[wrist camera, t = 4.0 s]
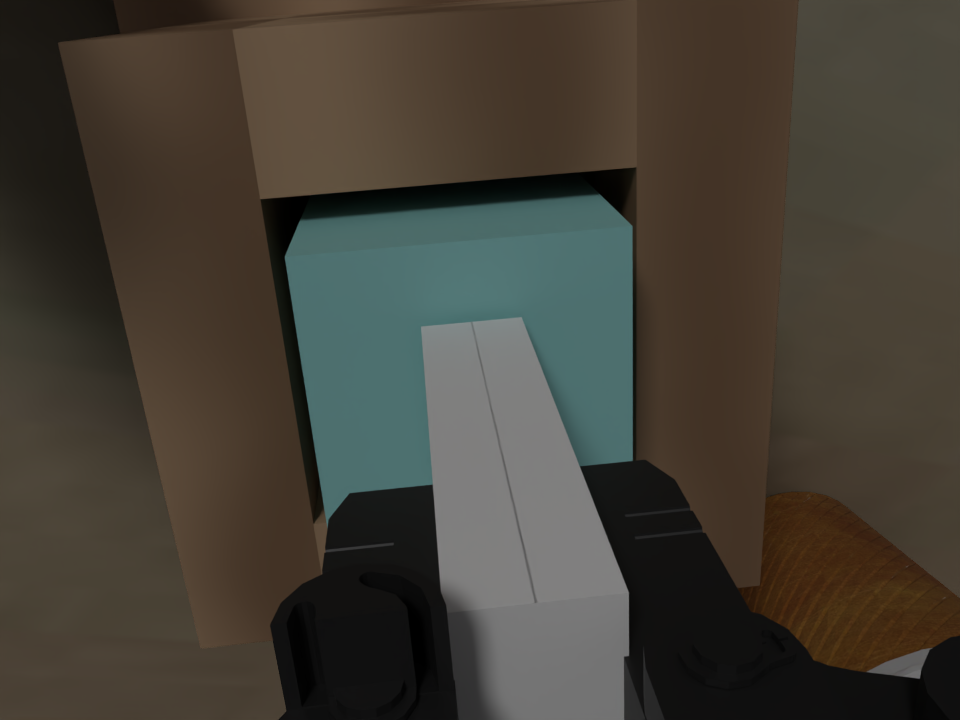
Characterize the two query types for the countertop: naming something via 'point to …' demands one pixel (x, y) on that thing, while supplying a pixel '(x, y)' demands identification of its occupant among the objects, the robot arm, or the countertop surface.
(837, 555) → the disposable coffee cup
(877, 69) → the countertop surface
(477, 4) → the chute
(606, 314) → the block
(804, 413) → the countertop surface
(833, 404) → the countertop surface
